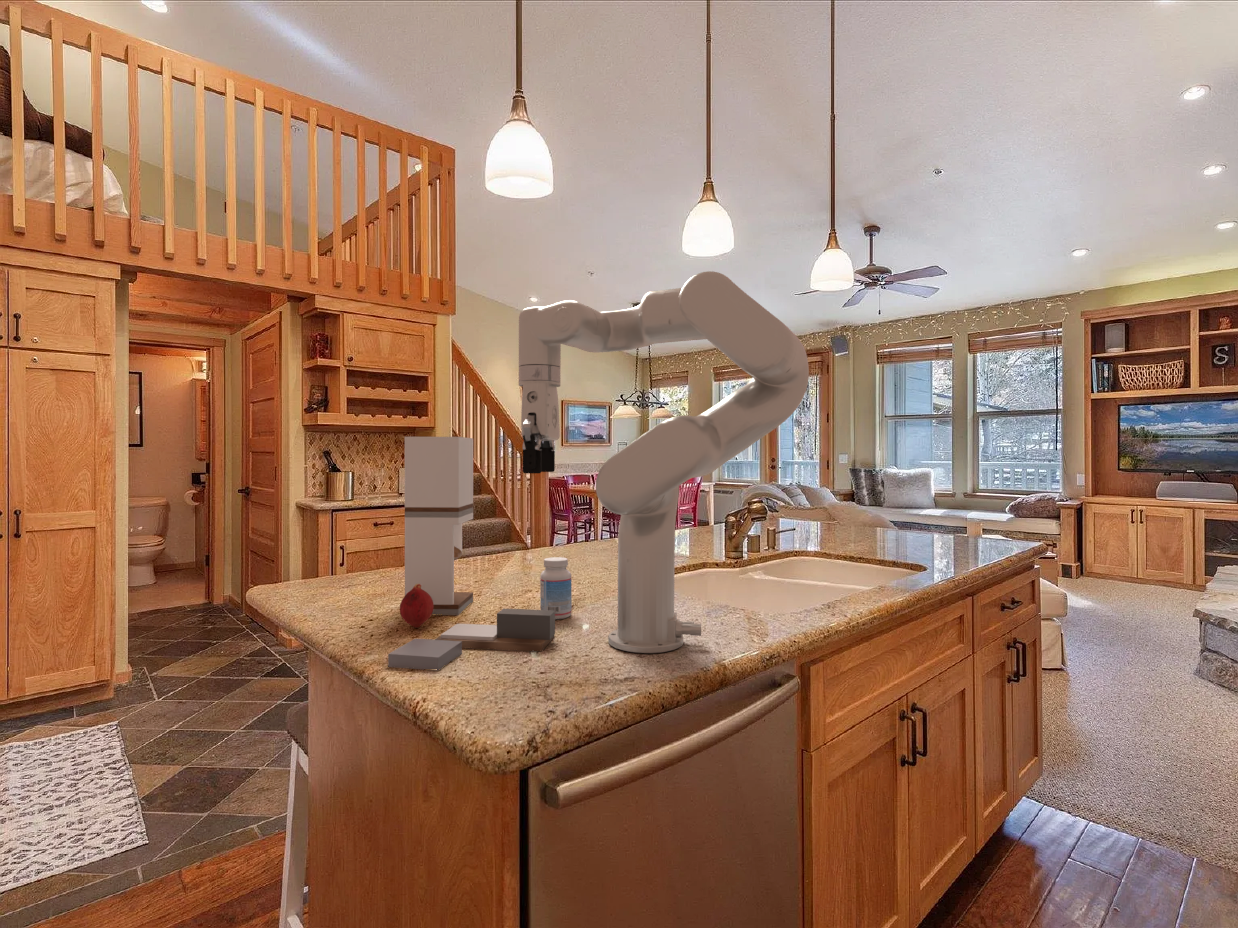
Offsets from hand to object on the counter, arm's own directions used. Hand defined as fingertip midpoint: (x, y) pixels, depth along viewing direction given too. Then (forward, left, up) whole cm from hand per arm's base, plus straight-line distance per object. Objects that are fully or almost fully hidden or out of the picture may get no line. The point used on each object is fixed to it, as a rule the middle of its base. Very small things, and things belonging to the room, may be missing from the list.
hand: (539, 472), depth 115 cm
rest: (+5, +9, -28) cm, 30 cm away
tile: (+12, +16, -27) cm, 34 cm away
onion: (+22, +3, -28) cm, 36 cm away
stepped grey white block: (+4, +9, -27) cm, 29 cm away
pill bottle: (-1, -9, -28) cm, 30 cm away
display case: (+24, -12, -28) cm, 39 cm away
